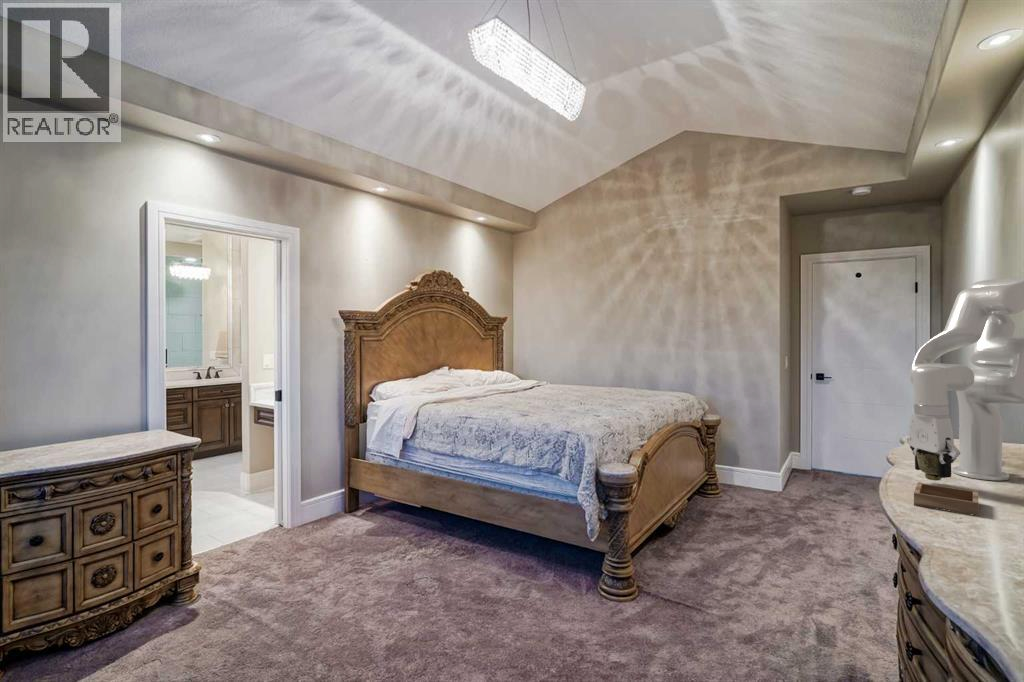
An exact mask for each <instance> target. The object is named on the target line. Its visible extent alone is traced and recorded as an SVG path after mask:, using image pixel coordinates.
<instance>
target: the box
mask: <svg viewBox="0 0 1024 682" xmlns="http://www.w3.org/2000/svg"><path fill="white" fill-rule="evenodd" d="M915 505H916V507H921V506H922V507H921V508H927V507H930V508H929V509H933V508H938V509H937V510H939V509H945V510H950V511H949V512H951V511H954V512H953V513H957V512H959V513H958V514H963V513H965V514H964V515H969V514H973V515H972V516H974V515H978V516H979V491H977V490H971V489H966V488H965V489H964V488H957V487H951V486H946V485H945V486H944V485H943V486H942V485H939V484H938V485H937V484H930V483H921V482H917V483H916V486H915V489H914V492H913V506H915ZM945 510H944V511H945Z"/></svg>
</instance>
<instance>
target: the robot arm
mask: <svg viewBox="0 0 1024 682" xmlns="http://www.w3.org/2000/svg"><path fill="white" fill-rule="evenodd" d="M1022 312H1024V276H1019V277H1018V276H1017V277H1007V278H1004V277H1003V278H994V279H993V278H992V279H985V280H979V281H976V282H973V283H972V284H970V285H969V286H968V287H967V288H965V289H963V290H961V291H960V292H959V293H958V294H957V296H956V298H955V301H954V303H953V305H952V308H951V310H950V313H949V317H948V319H947V321H946V324H945V326H944V329H943V330H942V331H941V332H939V333H938V334H936V335H934V336H933V337H931V338H930V339H929V340H927V341H926V342H925V343H924V344H923V345H922V346H921V347H920V348H918V350H917V352H916V353H915V355H914V358H913V361H912V364H911V366H910V369H909V379H910V381H911V383H912V385H913V413H911V417H910V423H909V436H908V438H906V442H907V444H908V445H909V448H910V449H911V451H912V455H913V456H914V469H915V471H916V470H917V471H921V469H920V468H919V465H918V461H917V455H916V450H917V449H918V450H919V451H920V450H923V451H927V452H930V453H934V454H937V455H938V458H939V460H940V462H941V463H938V476H939V477H940V478H941V479H944V478H946V479H947V478H951V477H952V472H953V473H954V474H955V475H959V476H962V477H966V478H971V479H976V480H982V481H983V480H984V481H999V482H1000V481H1007V480H1010V474H1009V473H1008V472H1005V471H1003V467H1005V466H1006V465H1007V462H1006V461H1005V460H1003V419H1002V418H1003V417H1002V414H1000V412H999V410H998V409H997V408H996V407H995V405H994V404H998V405H1000V404H1001V405H1008V406H1009V405H1010V406H1024V336H1023V337H1021V336H1016V337H1015V336H1014V335H1015V331H1016V327H1017V326H1016V323H1015V321H1014V320H1013V318H1012V317H1011V316H1010V315H1016V314H1019V313H1022ZM968 346H971V348H970V352H969V360H970V362H971V363H972V365H973V366H975V367H978V368H981V369H971V368H970V367H968V366H966V365H963V364H958V363H957V364H955V363H939V362H935V361H936V360H937V359H938V358H939V357H941V356H944V355H945V354H947V353H948V352H949V353H950V352H952V351H955V350H958V349H961V348H964V347H968ZM988 369H991V370H988ZM993 369H994V370H993ZM995 369H996V370H995ZM1003 370H1004V371H1003ZM1007 370H1012V371H1007ZM950 391H954V392H955V393H956V396H957V397H956V398H957V402H958V415H959V416H958V419H959V421H958V426H959V427H958V439H959V440H958V447H957V446H956V445H955V441H954V440H955V439H954V431H953V430H954V429H953V426H952V421H951V417H949V416H950V413H949V408H950V407H949V392H950ZM943 454H945V455H946V454H947V456H946V457H945V458H944V456H943ZM958 457H959V459H958V465H956V466H953V467H952V464H954V461H956V459H957V458H958Z"/></svg>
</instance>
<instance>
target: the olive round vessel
mask: <svg viewBox="0 0 1024 682" xmlns="http://www.w3.org/2000/svg"><path fill="white" fill-rule="evenodd" d="M916 455H917V461H918V465H919V468H920V469H921V470H920V471H921V472H922V473H924V476H925V478H926V479H927V480H929V481H936V482H937V481H941V480H942V478H940V477H939V476H938V463H941V462H940V460H939V458H938V455H937V454H934V453H930V452H927V451H923V450H920V451H919V450H918V449H917V450H916ZM943 456H944V458H945V457H946V456H947V454H946V455H945V454H943Z"/></svg>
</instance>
